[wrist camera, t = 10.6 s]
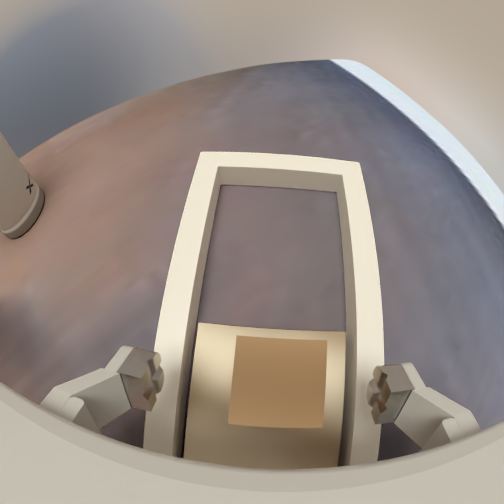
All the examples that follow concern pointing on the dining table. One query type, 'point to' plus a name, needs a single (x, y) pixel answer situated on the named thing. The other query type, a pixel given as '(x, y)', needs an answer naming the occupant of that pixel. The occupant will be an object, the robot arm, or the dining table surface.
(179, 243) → the guide rails
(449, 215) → the dining table surface
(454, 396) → the dining table surface
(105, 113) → the dining table surface
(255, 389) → the pale strip
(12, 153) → the travel mug
